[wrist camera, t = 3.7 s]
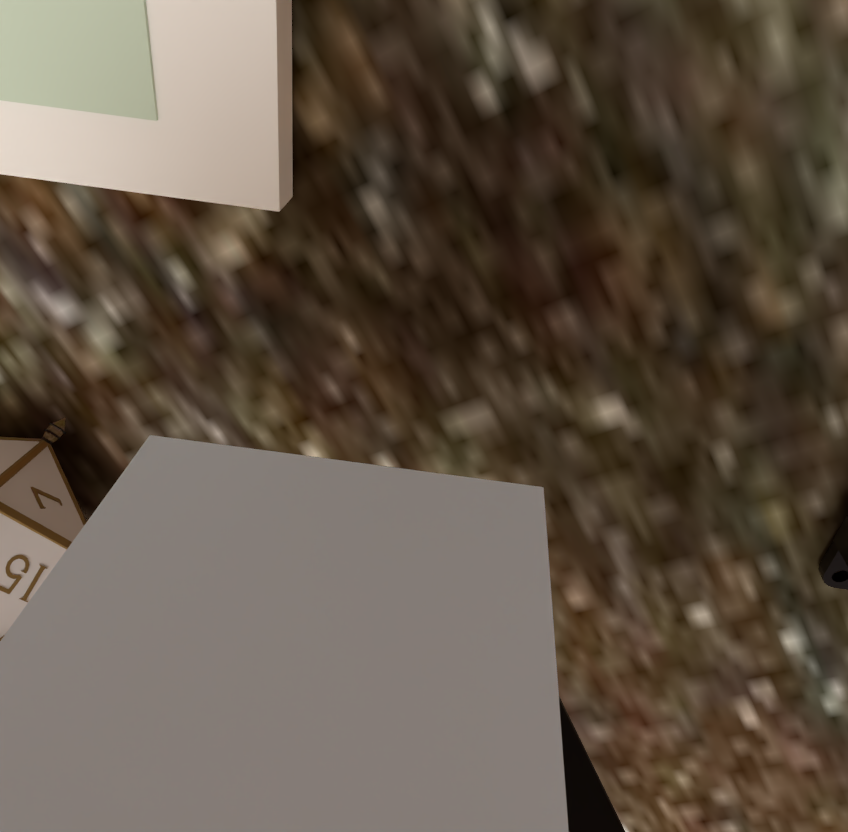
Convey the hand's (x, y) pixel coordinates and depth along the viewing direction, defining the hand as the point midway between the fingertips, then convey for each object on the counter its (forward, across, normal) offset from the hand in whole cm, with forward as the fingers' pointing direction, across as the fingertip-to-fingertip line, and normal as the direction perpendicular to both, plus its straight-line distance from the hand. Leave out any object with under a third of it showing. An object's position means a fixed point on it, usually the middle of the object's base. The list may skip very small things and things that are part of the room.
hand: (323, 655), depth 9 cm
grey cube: (+1, 0, 0) cm, 1 cm away
